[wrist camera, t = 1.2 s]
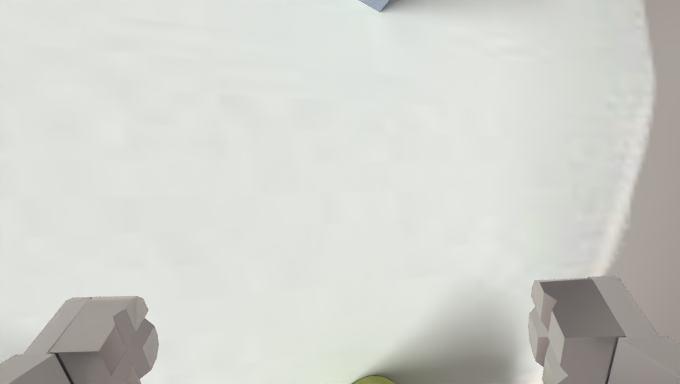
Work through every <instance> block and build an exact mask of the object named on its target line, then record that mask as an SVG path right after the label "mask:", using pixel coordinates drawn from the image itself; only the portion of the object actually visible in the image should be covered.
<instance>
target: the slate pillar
mask: <svg viewBox="0 0 680 384" xmlns="http://www.w3.org/2000/svg"><path fill="white" fill-rule="evenodd" d="M360 1H361V2H363V3H365V4H367V5H368V6H370V7H372V8H374V9H375V10H377V11H379V12H380V11H381V10H382V9H383V7H384V6H385V5H386V4H387V3H388V1H389V0H360Z"/></svg>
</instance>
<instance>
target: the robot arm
mask: <svg viewBox="0 0 680 384" xmlns="http://www.w3.org/2000/svg"><path fill="white" fill-rule="evenodd" d="M531 297H532V299H533V302H534V304H535V308H534V309H533V310H532V311H531V312H530V313H529V324H528V328H529V340H530V344H531V349H532V352H533V355H534V358H535V361H536V362H538V363H539V364H540V365H542V366H543V367H544V370H543V378H542V380H543V383H544V384H680V343H679V342H677V341H675V340H673V339H672V338H670V337H667V336H663V337H660V336H659V335H658V334H657V332H656V331H655V329H654V328H653V326H652V325H651V323H650V322H649V320H648V319H647V317H646V316H645V315H644V313H643V312H642V310H641V309H640V308H639V306H638V304H637V303H636V302H635V300H634V299H633V297H632V296H631V294H630V293H629V291H628V290H627V289H626V287H625V286H624V284H623V283H622V281H621V280H620V279H619V278H618V277H616V276H601V277H588V278H575V279H553V280H535V281H534V283H533V286H532V293H531ZM147 312H148V308H147V306H146V304H145V301H144V299H143V298H141V297H138V296H117V297H81V298H71V299H69V300H67V301H66V302H65V303H64V304H63V305H62V307H61V308H60V309H59V310H58V312H57V313H56V314H55V315H54V316H53V318H52V319H51V320H50V321H49V323H48V324H47V325H46V326H45V328H44V329H43V330H42V331H41V333H40V334H39V335H38V336H37V338H36V339H35V340H34V341H33V343H32V344H31V345H30V346H29V347H28V349H27V350H26V351H25V352H24V354H21V355H15V356H13V357H11V358H10V359H8V360H6V361H5V362H3V363H1V364H0V384H141V381H140V378H142V377H143V376H144V375H145V374H147V373H148V372H149V371H150V370H151V369H152V367H153V365H154V363H155V361H156V358H157V352H158V346H159V343H158V335H157V332H156V329H155V326H154V325H153V324H151V323H150V322H149V321H148V320H146V319H145V316H146V314H147Z"/></svg>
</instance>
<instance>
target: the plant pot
mask: <svg viewBox="0 0 680 384" xmlns="http://www.w3.org/2000/svg"><path fill="white" fill-rule="evenodd" d="M353 384H396V383H394V382H392V381H391V380H389V379H387V378H384V377H381V376H367V377H365V378H363V379H361V380H359V381H357V382H355V383H353Z"/></svg>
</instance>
